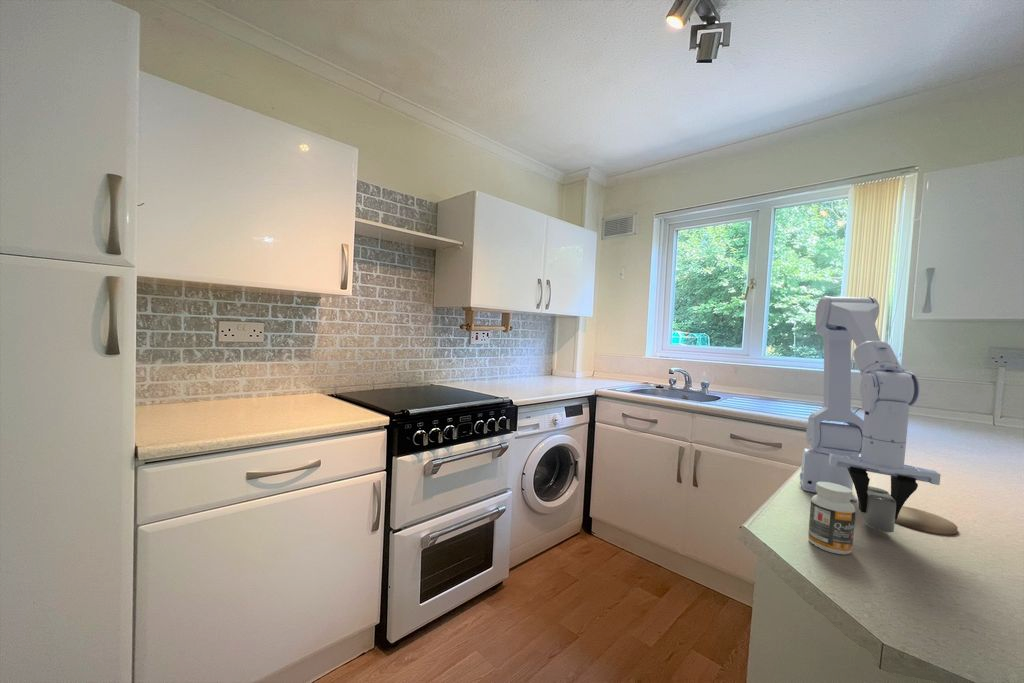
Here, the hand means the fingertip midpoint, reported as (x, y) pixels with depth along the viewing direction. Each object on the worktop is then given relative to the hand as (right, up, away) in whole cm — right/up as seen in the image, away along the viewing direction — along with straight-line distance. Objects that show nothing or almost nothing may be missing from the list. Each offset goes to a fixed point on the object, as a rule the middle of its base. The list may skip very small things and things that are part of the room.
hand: (877, 513), depth 73 cm
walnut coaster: (+13, -4, +6) cm, 15 cm away
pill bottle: (-13, -3, -6) cm, 15 cm away
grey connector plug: (0, -1, +1) cm, 2 cm away
